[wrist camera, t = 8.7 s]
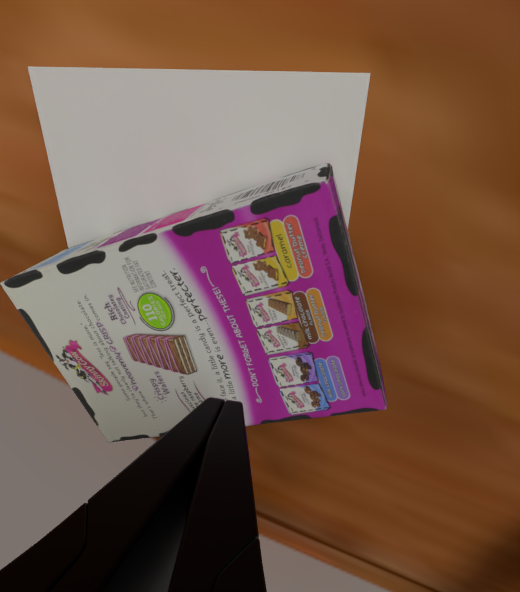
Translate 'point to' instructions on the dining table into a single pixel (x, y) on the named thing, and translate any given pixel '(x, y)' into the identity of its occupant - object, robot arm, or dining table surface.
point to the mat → (188, 137)
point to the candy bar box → (212, 312)
